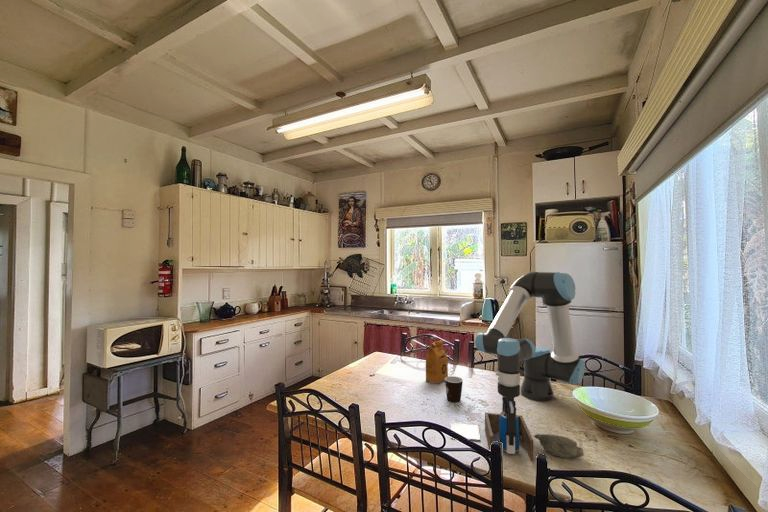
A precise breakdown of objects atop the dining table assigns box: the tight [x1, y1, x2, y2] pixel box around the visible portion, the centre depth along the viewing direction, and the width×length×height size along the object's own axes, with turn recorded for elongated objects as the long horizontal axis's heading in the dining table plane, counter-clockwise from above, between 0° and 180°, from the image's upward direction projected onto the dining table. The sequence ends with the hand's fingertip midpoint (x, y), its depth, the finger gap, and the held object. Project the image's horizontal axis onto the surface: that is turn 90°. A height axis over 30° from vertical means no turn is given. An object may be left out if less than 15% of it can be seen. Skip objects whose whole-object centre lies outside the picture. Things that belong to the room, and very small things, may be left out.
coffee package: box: [425, 339, 449, 384], centre depth 185 cm, size 10×12×22 cm
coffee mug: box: [444, 375, 464, 404], centre depth 161 cm, size 12×9×10 cm
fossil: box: [534, 433, 584, 459], centre depth 116 cm, size 14×10×10 cm
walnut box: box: [484, 411, 534, 462], centre depth 121 cm, size 14×18×7 cm
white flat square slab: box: [450, 422, 481, 442], centre depth 130 cm, size 11×11×1 cm
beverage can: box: [499, 411, 520, 453], centre depth 118 cm, size 6×6×12 cm
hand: (509, 447), depth 118 cm, fingers closed on beverage can, 6 cm apart
